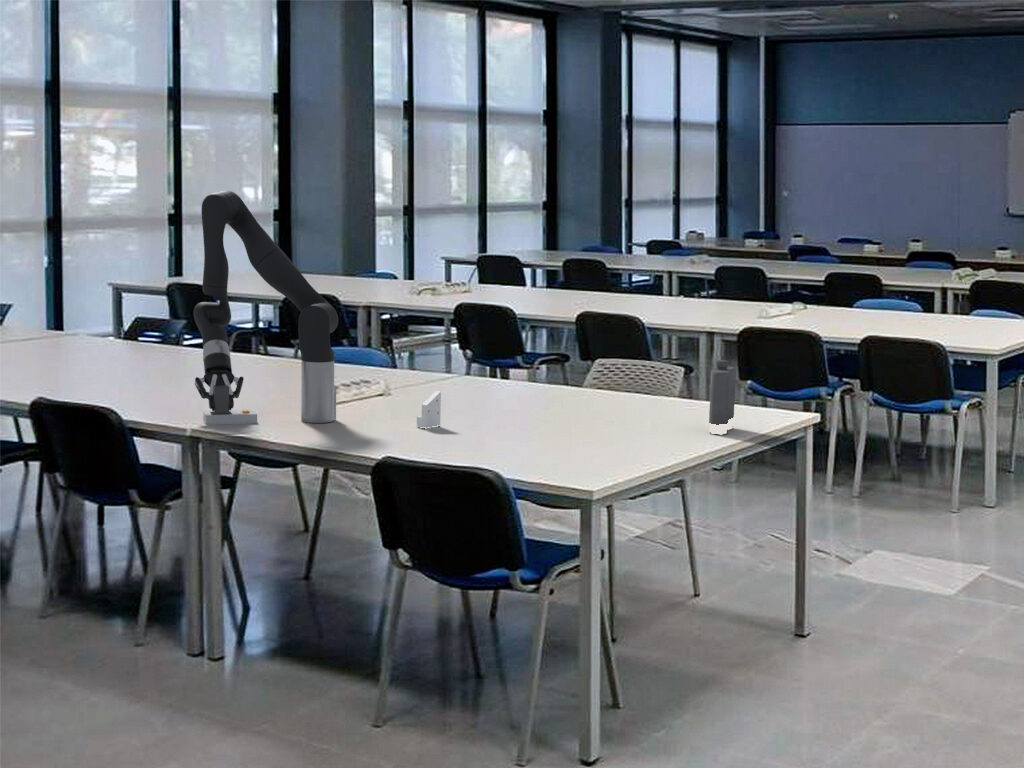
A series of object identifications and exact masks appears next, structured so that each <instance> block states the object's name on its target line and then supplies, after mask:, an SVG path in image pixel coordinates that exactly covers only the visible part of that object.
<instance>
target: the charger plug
mask: <svg viewBox="0 0 1024 768" xmlns="http://www.w3.org/2000/svg"><path fill="white" fill-rule="evenodd" d="M213 392H214V393H213V396H214V403H215V409H214V411H213V415H228V414H229V411H230V410H229V386H228V385H215V386H213Z"/></svg>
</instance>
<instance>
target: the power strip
mask: <svg viewBox="0 0 1024 768" xmlns="http://www.w3.org/2000/svg"><path fill="white" fill-rule="evenodd" d="M202 413H203V422H204V424H205V425H207V426H209V425H241V424H242V425H244V424H245V425H247V424H248V425H249V424H258V413H257V412H256V410H254V409H252V410H250V409H241V410H229V414H228V415H213V411H212V410H209V411H208V410H207V411H206V410H204V411H202Z"/></svg>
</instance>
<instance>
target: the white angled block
mask: <svg viewBox="0 0 1024 768" xmlns="http://www.w3.org/2000/svg"><path fill="white" fill-rule="evenodd" d="M441 394H442V391H440V390H435V391H434V392H433V393H432V394H431V395H430V396H429V397H428V398H426V400H425V401H424V402H423V403H422V405H421V415H418V416H416V427H417V426H418V427H426V428H427V427H432V426H437V425H440V426H441V415H442V413H441V410H442V409H441V406H442V404H441V403H442V395H441Z"/></svg>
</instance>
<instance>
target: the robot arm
mask: <svg viewBox="0 0 1024 768" xmlns="http://www.w3.org/2000/svg"><path fill="white" fill-rule="evenodd" d="M249 209H250V208H248V207H247V205H246V204H245V202H244V200H243V199H242V198H241V197H240V196H239V195H238V194H237V193H235V191H232V190H222V191H216V192H213V193H209V194H208V195H207V196H205V198H204V199H203V200H202V203H201V223H202V236H203V238H202V239H203V253H204V254H203V255H204V256H203V257H204V258H203V259H204V260H203V261H204V262H203V276H202V292H203V294H205V295H206V296H209V297H213V298H216V299H218V301H219V302H211V301H208V302H207V301H202V302H198V303H197V304H196V305H195V306H194V308H193V319H194V322H195V324H196V326H197V328H198V330H199V333H200V335H201V338H202V348H203V349H202V362H203V368H204V376H203V377H197V376H196V377H195V378H194V380H195V381H194V385H195V388H196V390H197V392H198V393H199V395H200V397H201V399H203V400H205V399H207V400H208V408H209V409H210V410H211V411H214V409H215V403H214V396H213V393H214V392H213V386H215V385H228V386H229V411H232V409H234V405H235V401H234V399H238V398H239V397H240V394H241V391H242V388H243V384H244V376H239V377H236V376H235V375H234V373H233V369H232V360H231V352H230V347H229V341H228V339H229V338H228V333H227V330H226V329H225V328H226V327H227V326H228V325H229V324H230V323H231V320H232V312H231V307H230V303H229V297H228V296H229V295H228V284H229V273H230V272H229V270H230V269H229V260H228V257H227V254H226V250H225V246H224V235H225V234H224V233H225V228H226V225H228V226H229V227H230V228H231V229H232V230H233V231H234V232H235V233H236V234H237V236H239V238H240V240H241V241H242V242H243V245H244V248H245V251H246V255H247V257H248V260H249V263H250V265H252V268H253V269H254V270H255V271H256V272H257V273H258V274H259V276H260V277H261V278H262V280H263V281H264V282H266V283H267V284H268V285H269V286H270V287H271V288H272V289H274V290H276V291H277V292H279V294H281V295H282V296H284V297H286V298H287V299H288V300H289V301H290V302H292V304H293V305H294V306H296V308H297V309H298V310H299V312H300V314H299V317H298V322H297V323H298V331H297V333H298V349H299V352H300V356H301V363H300V364H301V366H300V367H301V372H300V373H301V375H300V377H301V382H300V383H301V389H300V391H301V393H300V394H301V397H300V398H301V402H300V403H301V404H300V405H301V406H300V411H301V412H300V413H301V414H300V416H301V417H300V420H301V422H304V423H310V424H323V423H324V424H325V423H331V422H334V421H335V420H337V387H336V386H335V350H333V348H332V347H331V336H330V335H331V334H332V333H333V332H335V330H336V329H337V327H338V325H339V316H338V312H337V310H336V309H335V308H334V307H333V305H332V304H330V303H329V302H328V301H327V300H326V299H325V298H324V297H323V296H322V295H321V294H320V293H319V292H318V291H317V290H316V289H315V288H314V287H313V286H312V285H311V284H310V282H308V280H307V279H306V278H305V277H304V275H303V274H302V272H301V271H300V270H299V269H298V268H297V267H296V266H295V264H294V263H293V262H292V261H291V259H290V258H289V256H288V255H287V254H286V253H285V252H284V251H283V249H282V248H281V247H279V245H277V243H276V242H275V241H274V240H273V238H271V237H270V235H269V234H268V233H267V232H266V230H265V229H264V228H263V227H262V226H261V224H260V223H259V221H257V219H256V218H255V217H254V215H253V214H252V212H251V211H250V210H249ZM233 382H234V385H235V386H236V387H235V389H234V391H233V389H232V387H231V385H232V384H233ZM204 383H205V384H206V385H207V386H208V387H209V391H207V390H206V388H205V386H204Z"/></svg>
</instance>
